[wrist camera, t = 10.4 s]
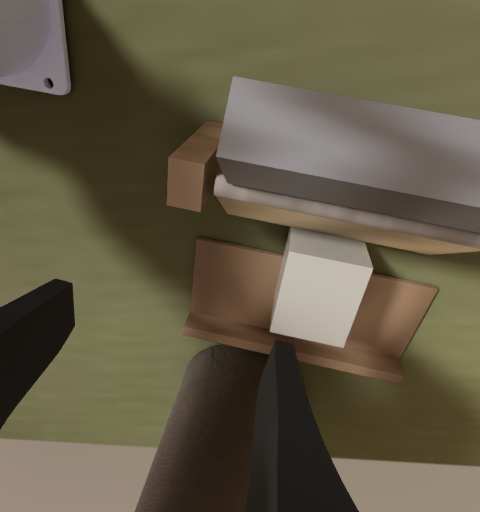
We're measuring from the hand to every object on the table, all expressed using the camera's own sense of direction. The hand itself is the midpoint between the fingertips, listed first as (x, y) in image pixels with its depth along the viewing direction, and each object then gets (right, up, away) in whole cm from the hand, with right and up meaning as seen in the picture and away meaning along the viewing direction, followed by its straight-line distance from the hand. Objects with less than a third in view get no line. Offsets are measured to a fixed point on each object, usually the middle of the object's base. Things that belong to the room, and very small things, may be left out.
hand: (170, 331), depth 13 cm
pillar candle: (+3, -8, +17) cm, 19 cm away
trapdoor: (+7, +7, +2) cm, 10 cm away
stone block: (+7, +1, +8) cm, 10 cm away
